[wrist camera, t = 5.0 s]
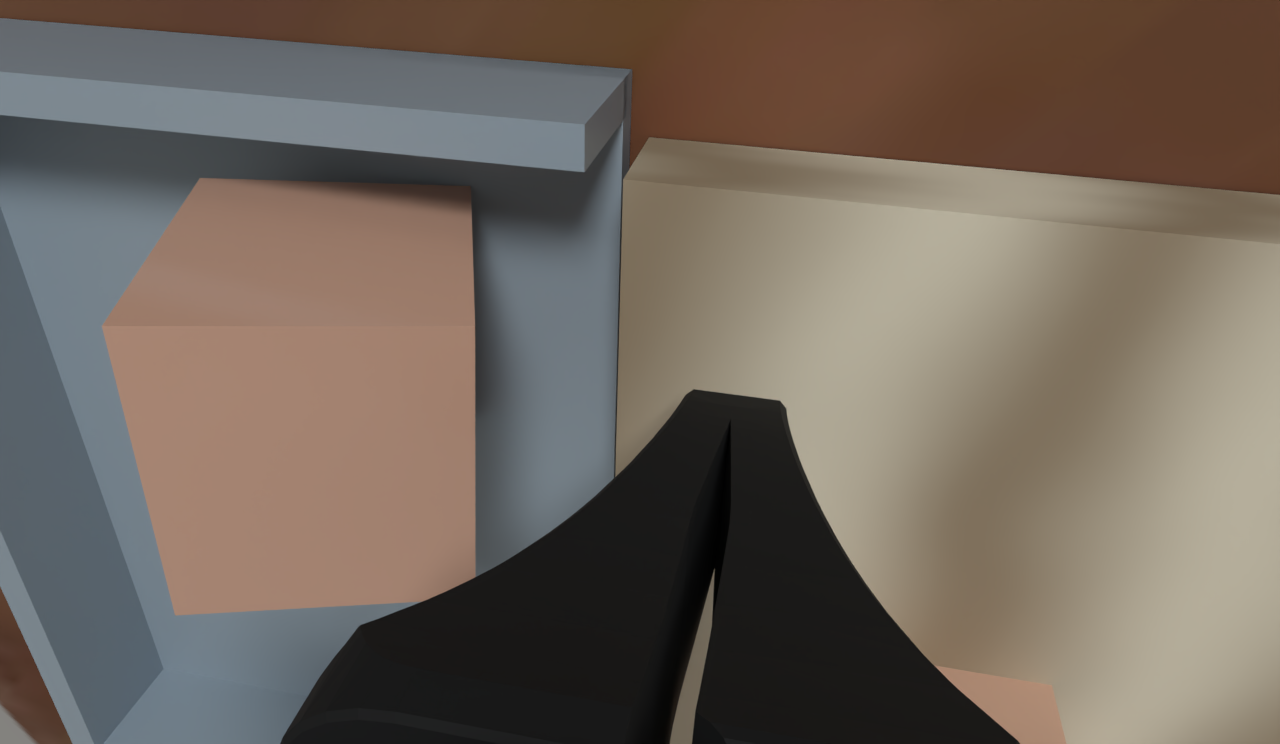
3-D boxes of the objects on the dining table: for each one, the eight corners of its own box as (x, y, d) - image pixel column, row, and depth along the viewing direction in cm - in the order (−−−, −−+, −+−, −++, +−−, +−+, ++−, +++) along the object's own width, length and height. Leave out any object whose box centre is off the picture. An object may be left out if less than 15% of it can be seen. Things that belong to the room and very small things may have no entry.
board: (1597, 224, 12) (1719, 287, 10) (1214, 832, 19) (1250, 927, 18) (649, 137, 14) (623, 179, 12) (625, 722, 21) (606, 800, 20)
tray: (631, 68, 13) (584, 124, 11) (611, 747, 22) (582, 867, 19) (-66, 12, 15) (-248, 49, 13) (163, 662, 24) (81, 762, 21)
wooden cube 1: (474, 326, 11) (101, 326, 10) (475, 598, 13) (174, 615, 12) (471, 186, 14) (200, 177, 14) (471, 417, 17) (241, 421, 16)
